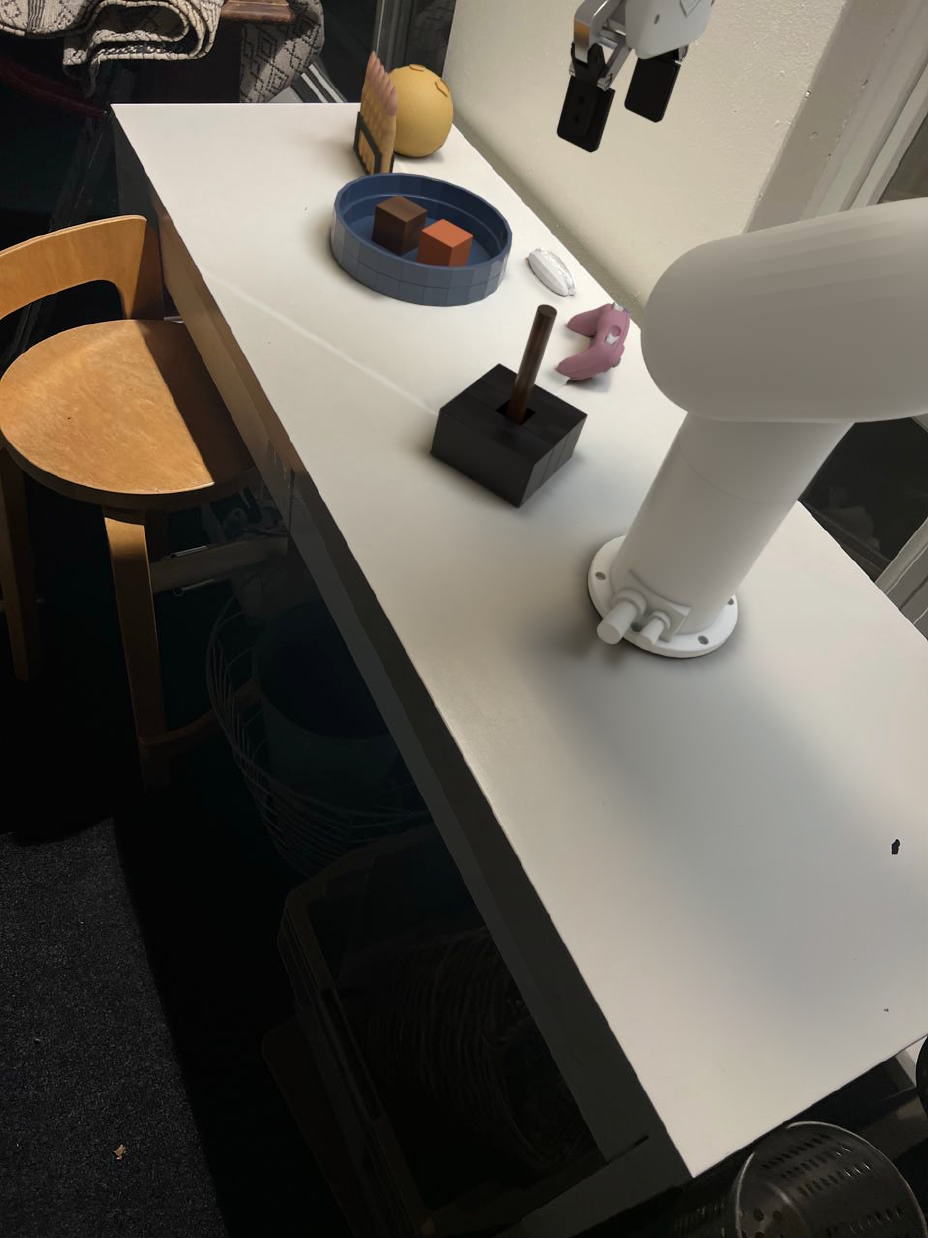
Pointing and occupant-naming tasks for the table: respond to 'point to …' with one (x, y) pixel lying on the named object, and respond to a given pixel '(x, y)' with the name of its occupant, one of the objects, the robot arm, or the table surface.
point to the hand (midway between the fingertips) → (610, 128)
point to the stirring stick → (531, 362)
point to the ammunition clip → (376, 120)
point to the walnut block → (398, 225)
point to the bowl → (403, 272)
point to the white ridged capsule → (553, 271)
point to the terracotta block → (444, 245)
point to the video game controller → (597, 341)
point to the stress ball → (421, 111)
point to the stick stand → (506, 436)
